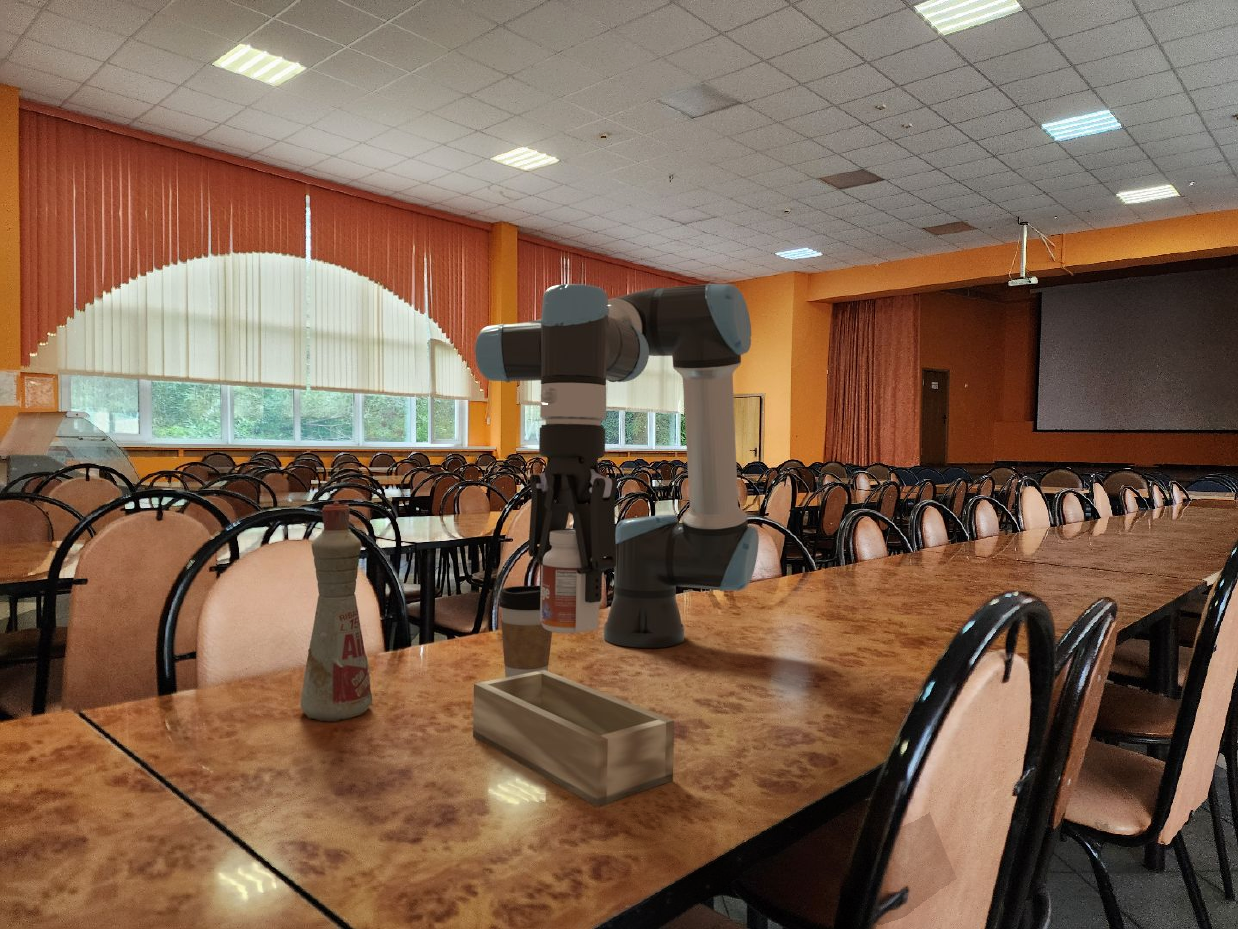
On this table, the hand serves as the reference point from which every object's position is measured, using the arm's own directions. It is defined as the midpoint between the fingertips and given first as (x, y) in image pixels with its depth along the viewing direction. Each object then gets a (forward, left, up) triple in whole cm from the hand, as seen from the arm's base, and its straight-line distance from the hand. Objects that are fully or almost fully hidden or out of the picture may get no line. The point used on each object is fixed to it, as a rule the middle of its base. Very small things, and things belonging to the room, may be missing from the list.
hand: (568, 624), depth 91 cm
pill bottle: (0, 0, -1) cm, 1 cm away
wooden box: (0, 0, -15) cm, 15 cm away
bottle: (+15, -31, -16) cm, 38 cm away
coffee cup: (-11, -25, -16) cm, 31 cm away
